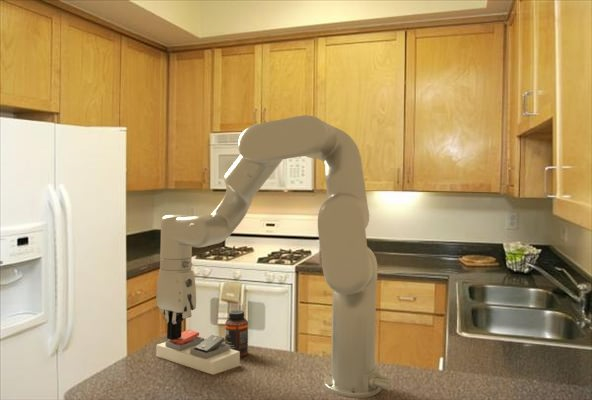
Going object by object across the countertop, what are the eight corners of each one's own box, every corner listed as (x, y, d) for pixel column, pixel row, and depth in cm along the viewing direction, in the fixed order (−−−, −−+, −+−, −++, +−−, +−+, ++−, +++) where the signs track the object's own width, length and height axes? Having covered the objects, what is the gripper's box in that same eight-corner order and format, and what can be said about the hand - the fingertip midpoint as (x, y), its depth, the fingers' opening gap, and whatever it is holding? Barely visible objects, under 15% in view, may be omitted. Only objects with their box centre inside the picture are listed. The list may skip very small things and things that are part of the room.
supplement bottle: (251, 351, 123) (251, 309, 123) (242, 359, 118) (243, 315, 117) (230, 349, 125) (231, 308, 125) (221, 357, 119) (221, 313, 119)
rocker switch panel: (239, 367, 112) (239, 346, 112) (212, 379, 105) (212, 357, 105) (183, 350, 124) (184, 331, 123) (156, 360, 116) (156, 340, 116)
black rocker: (225, 345, 113) (223, 337, 112) (208, 358, 108) (206, 350, 108) (213, 342, 115) (212, 334, 115) (196, 355, 110) (194, 346, 110)
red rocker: (199, 340, 118) (198, 331, 118) (181, 349, 113) (180, 341, 113) (189, 337, 120) (188, 329, 120) (170, 346, 115) (170, 337, 115)
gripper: (208, 266, 113) (206, 340, 113) (168, 259, 121) (166, 328, 122) (184, 270, 107) (183, 348, 107) (144, 263, 115) (142, 335, 116)
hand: (174, 338), depth 114 cm, fingers closed
